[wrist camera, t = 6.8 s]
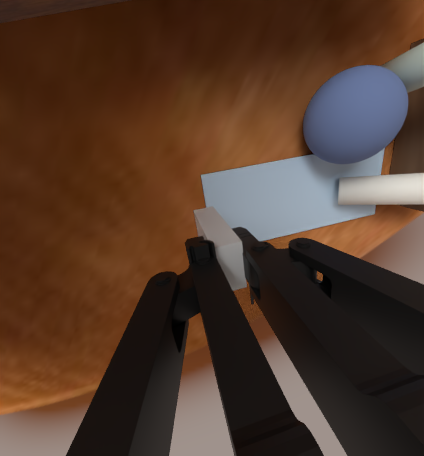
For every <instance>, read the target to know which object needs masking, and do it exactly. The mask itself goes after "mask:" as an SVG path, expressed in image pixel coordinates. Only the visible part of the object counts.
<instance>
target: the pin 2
mask: <svg viewBox="0 0 424 456" xmlns="http://www.w3.org/2000/svg"><path fill="white" fill-rule="evenodd" d="M381 67H384V68H387V69H389V70H391V71H392V72H394V73H395V74H396V75H397V76H398V77H399V78H400V79H401V80H402V82H403V83H404V85H405V87H406V90H407V93H409V92H411V91H414V90H417V89H419V88H422V87H424V42H423V43H422V44H420V45H418V46H416V47H414V48H412V49H411V50H409V51H407V52H405V53H403V54H401V55H400V56H398V57H396V58H394V59H392V60H390V61H388V62H387V63H385V64H383V65H381Z"/></svg>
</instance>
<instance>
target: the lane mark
mask: <svg viewBox="0 0 424 456" xmlns="http://www.w3.org/2000/svg"><path fill="white" fill-rule="evenodd" d="M384 149H385V148H384ZM384 149H383V150H381V151H380V152H378V153H377V154H375V155H374V156H372V157H370V158H368V159H365V160H363V161H360V162H356V163H351V164H334V163H329V162H326V161H324V160H322V159H320V158H319V157H317V156H316V155H315V154H311V155H305V156H300V157H294V158H289V159H284V160H278V161H273V162H267V163H262V164H257V165H251V166H246V167H241V168H235V169H230V170H224V171H219V172H214V173H208V174H203V175H201V180H202V186H203V192H204V198H205V204H206V208H207V207H211V206H213V207H214V208H215V210H216V211H217V212H218V213H219V214H220V216H221V217H222V218H223V219H224V220H225V222H226V223H227V224H228V225H229V226H230V228H231V229H232V228H236V227H243V228H246V229H247V230H248V231H249V232H250V233H251V234H252V235H253V236H254V237H255V238H256V239H257V240H258V241H265V240H269V239H273V238H277V237H281V236H286V235H290V234H294V233H298V232H302V231H306V230H310V229H315V228H319V227H323V226H327V225H331V224H335V223H340V222H344V221H348V220H352V219H356V218H360V217H365V216H369V215H373V214H375V209H376V205H338V191H339V178H341V177H359V176H377V175H381V169H382V163H383V156H384Z"/></svg>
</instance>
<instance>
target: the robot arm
mask: <svg viewBox="0 0 424 456" xmlns="http://www.w3.org/2000/svg"><path fill="white" fill-rule="evenodd" d="M193 211H194V216H195V221H196V227H197V232H198V237H195V238H191V239H187V241H186V242H185V246H186V251H187V255H188V260H189V264H190V265H189V268H188V269H187V270H186V271H185V272H184V273H182V274H180V275H178V276H177V274H176V273H174V272H161V273H159V274H156V275H155V276H153V277H152V278H151V279H150V280H149V281H148V283H147V285H146V287H145V290H144V292H143V294H142V296H141V298H140V300H139V302H138V304H137V306H136V309H135V311H134V313H133V315H132V317H131V319H130V321H129V323H128V325H127V328H126V330H125V332H124V334H123V336H122V338H121V340H120V342H119V345H118V347H117V349H116V351H115V353H114V355H113V357H112V359H111V361H110V364H109V366H108V368H107V370H106V372H105V374H104V376H103V378H102V380H101V383H100V385H99V387H98V389H97V391H96V393H95V395H94V397H93V399H92V402H91V404H90V406H89V408H88V410H87V412H86V414H85V417H84V419H83V421H82V423H81V425H80V427H79V429H78V431H77V434H76V436H75V438H74V440H73V442H72V444H71V446H70V448H69V450H68V452H67V455H66V456H169V452H170V445H171V439H172V432H173V425H174V418H175V411H176V406H177V399H178V392H179V385H180V379H181V372H182V365H183V359H184V352H185V346H186V339H187V332H188V326H189V320H188V319H189V318H191V317H193V316H195V315H196V314H198V313H200V312H201V316H202V320H203V325H204V329H205V333H206V337H207V342H208V346H209V350H210V354H211V358H212V363H213V367H214V371H215V376H216V380H217V384H218V388H219V392H220V397H221V401H222V405H223V409H224V414H225V418H226V422H227V426H228V430H229V435H230V439H231V443H232V448H233V452H234V456H324V455H323V453H322V451H321V449H320V447H319V445H318V444H317V442H316V441H315V439H314V437H313V435H312V433H311V432H310V430H309V429H308V428H307V427H306V425H305V424H304V423H302V422H300V421H298V420H297V418H296V417H295V415H294V414H293V412H292V410H291V408H290V406H289V404H288V402H287V400H286V398H285V396H284V394H283V392H282V390H281V388H280V386H279V384H278V382H277V380H276V378H275V375H274V374H273V371H272V369H271V367H270V365H269V363H268V361H267V359H266V357H265V355H264V353H263V351H262V349H261V347H260V345H259V343H258V341H257V339H256V337H255V335H254V333H253V331H252V329H251V327H250V325H249V323H248V321H247V319H246V317H245V315H244V313H243V311H242V308H241V306H240V304H239V302H238V300H237V298H236V296H235V294H234V292H233V291H234V290H238V289H241V288H245V287H247V284H246V279H247V281H248V282H249V287H250V297H251V304H254V301H253V300H254V299H255V301H256V303H257V304H258V306H259V308H260V309H261V311H262V313H263V314H264V316H265V318H266V319H267V321H268V323H269V325H270V326H271V328H272V330H273V331H274V333H275V335H276V336H277V338H278V340H279V341H280V343H281V345H282V346H283V348H284V350H285V351H286V353H287V355H288V356H289V358H290V360H291V361H292V363H293V365H294V366H295V368H296V370H297V371H298V373H299V375H300V377H301V378H302V380H303V382H304V383H305V385H306V386H307V388H308V390H309V391H310V393H311V395H312V396H313V398H314V400H315V401H316V403H317V405H318V407H319V408H320V410H321V412H322V413H323V415H324V417H325V418H326V420H327V422H328V423H329V425H330V427H331V428H332V430H333V432H334V433H335V435H336V437H337V439H338V440H339V442H340V444H341V445H342V447H343V448H344V450H345V452H346V454H347V456H424V285H423V284H420V283H418V282H416V281H413V280H411V279H408V278H406V277H404V276H401V275H399V274H396V273H393V272H391V271H389V270H386V269H384V268H381V267H379V266H376V265H374V264H371V263H369V262H366V261H364V260H361V259H359V258H356V257H354V256H352V255H349V254H347V253H344V252H342V251H339V250H337V249H334V248H332V247H329V246H327V245H324V244H322V243H319V242H317V241H314V240H311V239H307V238H297V239H293V240H291V241H290V242H289V248H285V249H276V248H274V247H273V246H272V245H271V244H269V243H267V242H263V241H258V240H257V239H256V238H255V237H254V236H253V235H252V234H251V233H250V232H249V231H248V230H247V229H246V228H243V227H236V228H232V229H231V228H230V226H229V225H228V224H227V223H226V222H225V220H224V219H223V218H222V217H221V216H220V214H219V213H218V212H217V211H216V210H215V208H214V207H213V206H211V207H207V208H202V209H197V210H193ZM317 271H318V272H320V273H322V274H323V280H322V281H320V280H318V279H317Z"/></svg>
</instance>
